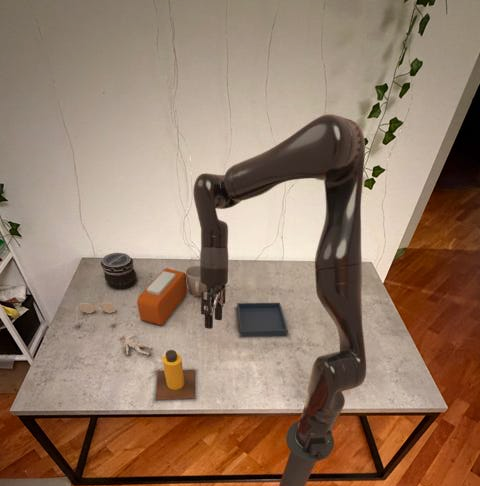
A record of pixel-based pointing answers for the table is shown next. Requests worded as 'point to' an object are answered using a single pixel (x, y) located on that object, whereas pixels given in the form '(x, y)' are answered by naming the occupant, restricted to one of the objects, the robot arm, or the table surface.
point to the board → (169, 394)
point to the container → (119, 270)
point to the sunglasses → (104, 306)
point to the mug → (195, 280)
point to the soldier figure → (133, 344)
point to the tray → (261, 319)
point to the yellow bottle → (173, 370)
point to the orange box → (162, 296)
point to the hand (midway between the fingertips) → (213, 323)
